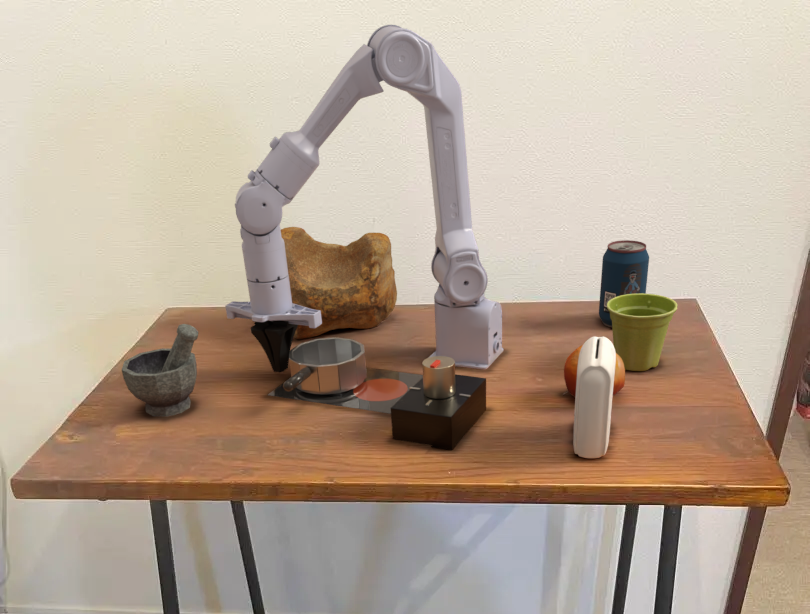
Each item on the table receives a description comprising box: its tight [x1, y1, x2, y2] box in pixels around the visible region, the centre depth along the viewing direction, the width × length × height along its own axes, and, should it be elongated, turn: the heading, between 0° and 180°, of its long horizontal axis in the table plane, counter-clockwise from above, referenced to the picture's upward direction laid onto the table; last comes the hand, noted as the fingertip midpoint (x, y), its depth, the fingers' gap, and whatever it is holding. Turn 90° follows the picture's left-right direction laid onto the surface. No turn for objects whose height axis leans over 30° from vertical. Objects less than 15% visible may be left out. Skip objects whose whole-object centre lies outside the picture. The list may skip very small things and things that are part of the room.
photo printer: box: [572, 335, 616, 459], centre depth 103 cm, size 10×4×12 cm, turn 167°
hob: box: [267, 367, 423, 415], centre depth 123 cm, size 21×13×1 cm, turn 65°
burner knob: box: [421, 356, 456, 399], centre depth 108 cm, size 4×4×4 cm
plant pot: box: [607, 293, 678, 372], centre depth 122 cm, size 9×9×9 cm
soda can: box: [598, 239, 650, 328], centre depth 136 cm, size 7×7×12 cm
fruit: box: [562, 344, 626, 398], centre depth 115 cm, size 8×8×8 cm
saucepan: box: [282, 336, 367, 396], centre depth 121 cm, size 16×10×5 cm, turn 155°
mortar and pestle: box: [121, 323, 199, 418], centre depth 117 cm, size 11×9×12 cm
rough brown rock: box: [280, 226, 398, 340], centre depth 140 cm, size 23×17×15 cm
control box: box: [390, 373, 487, 451], centre depth 110 cm, size 12×8×5 cm
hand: (280, 369), depth 127 cm, fingers closed
